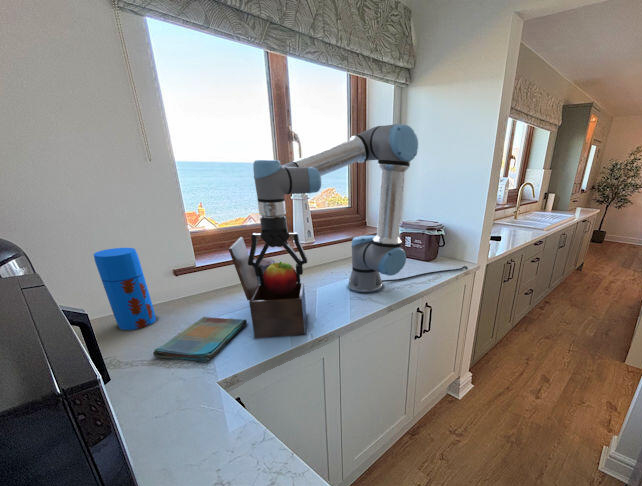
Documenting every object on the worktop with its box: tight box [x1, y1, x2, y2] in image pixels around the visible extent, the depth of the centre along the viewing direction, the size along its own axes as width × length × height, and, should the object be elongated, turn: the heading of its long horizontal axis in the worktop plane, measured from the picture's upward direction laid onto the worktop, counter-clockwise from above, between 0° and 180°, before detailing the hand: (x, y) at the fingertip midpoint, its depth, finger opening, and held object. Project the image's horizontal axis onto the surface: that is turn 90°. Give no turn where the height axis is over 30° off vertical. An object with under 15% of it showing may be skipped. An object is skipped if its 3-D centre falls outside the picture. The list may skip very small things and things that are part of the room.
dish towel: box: [152, 316, 248, 363], centre depth 102 cm, size 17×23×2 cm
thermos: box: [93, 247, 157, 331], centre depth 106 cm, size 11×11×25 cm
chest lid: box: [228, 236, 258, 301], centre depth 101 cm, size 16×15×1 cm
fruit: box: [263, 261, 297, 294], centre depth 105 cm, size 11×11×10 cm
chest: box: [248, 282, 307, 339], centre depth 109 cm, size 16×15×13 cm
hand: (281, 284), depth 106 cm, fingers closed on fruit, 11 cm apart
